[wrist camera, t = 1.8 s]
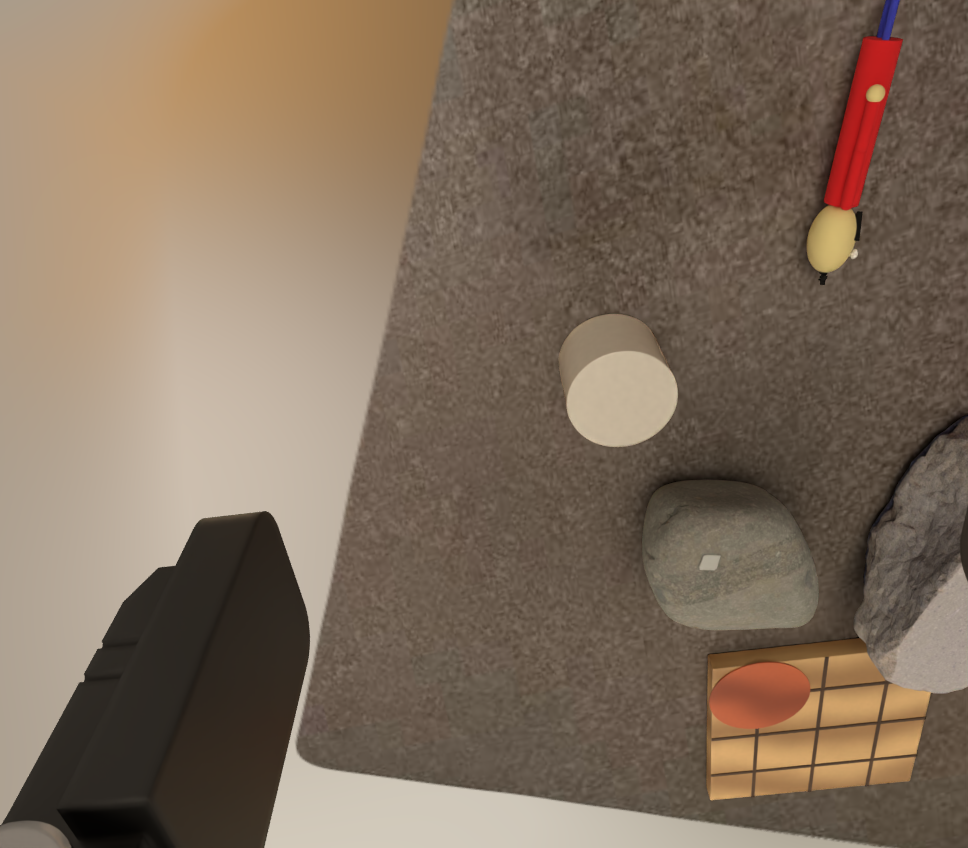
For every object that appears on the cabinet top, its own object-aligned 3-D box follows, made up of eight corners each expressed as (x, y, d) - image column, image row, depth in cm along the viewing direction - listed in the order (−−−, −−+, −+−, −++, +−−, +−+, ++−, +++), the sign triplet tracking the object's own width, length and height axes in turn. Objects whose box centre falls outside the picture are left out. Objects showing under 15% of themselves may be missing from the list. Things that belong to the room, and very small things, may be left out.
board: (704, 652, 49) (709, 668, 48) (933, 627, 49) (944, 643, 47) (703, 785, 57) (707, 802, 56) (901, 765, 56) (910, 782, 55)
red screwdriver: (945, -119, 28) (839, 275, 36) (882, -119, 28) (791, 272, 36) (973, -122, 26) (854, 297, 34) (905, -122, 26) (803, 294, 34)
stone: (630, 616, 48) (663, 683, 38) (616, 472, 47) (645, 501, 37) (779, 602, 47) (852, 666, 37) (767, 456, 46) (838, 481, 37)
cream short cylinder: (553, 320, 37) (561, 359, 34) (658, 306, 37) (677, 343, 34) (562, 409, 40) (571, 453, 36) (661, 396, 40) (678, 440, 36)
